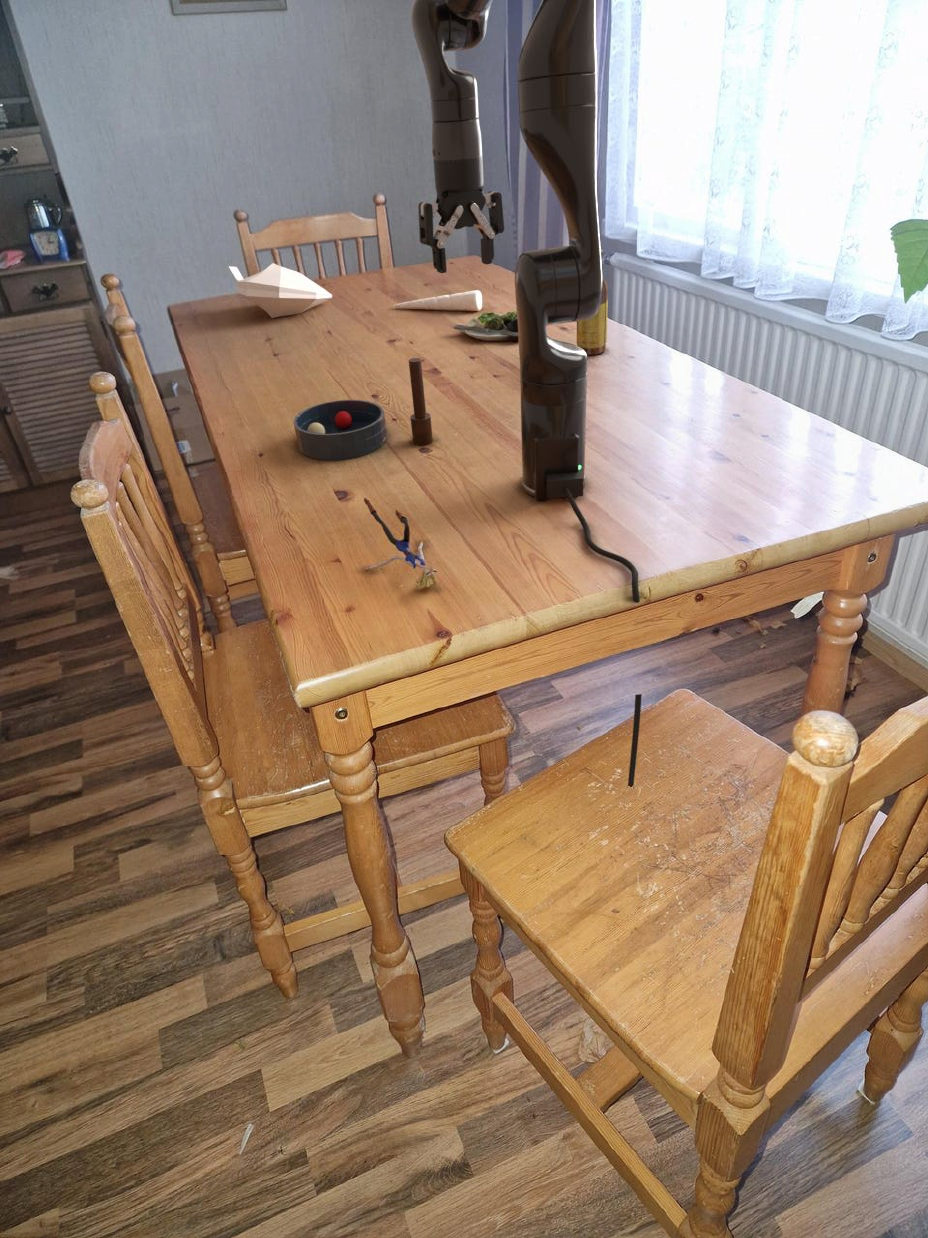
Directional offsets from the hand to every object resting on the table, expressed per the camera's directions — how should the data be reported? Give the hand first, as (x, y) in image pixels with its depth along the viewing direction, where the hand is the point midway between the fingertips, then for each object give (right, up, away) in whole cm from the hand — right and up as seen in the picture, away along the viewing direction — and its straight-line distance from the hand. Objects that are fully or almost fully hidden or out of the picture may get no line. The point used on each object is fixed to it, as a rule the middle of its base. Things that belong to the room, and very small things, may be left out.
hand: (464, 267), depth 132 cm
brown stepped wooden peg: (-7, -27, +6) cm, 29 cm away
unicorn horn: (-6, +20, +71) cm, 74 cm away
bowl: (-21, -27, +8) cm, 35 cm away
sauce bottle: (+27, -1, +38) cm, 46 cm away
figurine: (-8, -52, -27) cm, 59 cm away
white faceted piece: (-48, +22, +79) cm, 94 cm away
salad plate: (+9, +8, +53) cm, 54 cm away
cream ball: (-26, -25, +7) cm, 37 cm away
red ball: (-21, -22, +10) cm, 33 cm away
